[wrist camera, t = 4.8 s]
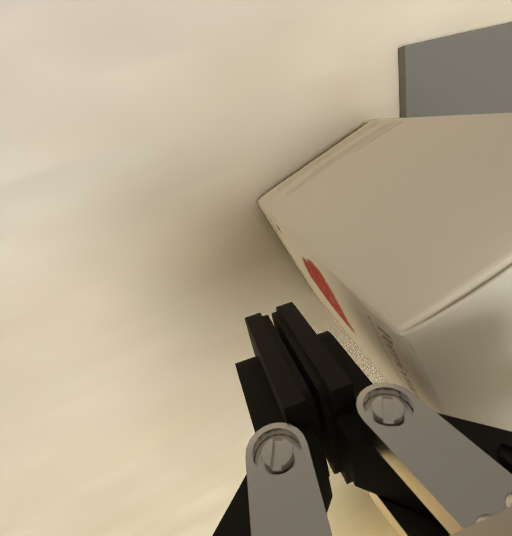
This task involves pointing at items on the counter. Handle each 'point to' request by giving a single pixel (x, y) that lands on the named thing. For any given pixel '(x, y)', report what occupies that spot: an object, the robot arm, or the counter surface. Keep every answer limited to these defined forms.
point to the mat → (458, 74)
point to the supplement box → (414, 253)
